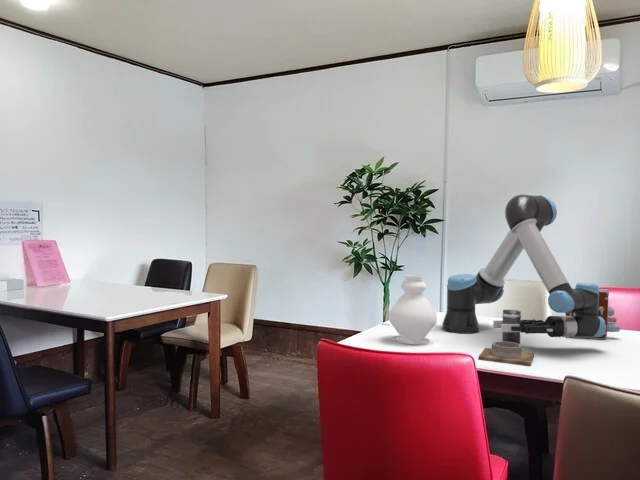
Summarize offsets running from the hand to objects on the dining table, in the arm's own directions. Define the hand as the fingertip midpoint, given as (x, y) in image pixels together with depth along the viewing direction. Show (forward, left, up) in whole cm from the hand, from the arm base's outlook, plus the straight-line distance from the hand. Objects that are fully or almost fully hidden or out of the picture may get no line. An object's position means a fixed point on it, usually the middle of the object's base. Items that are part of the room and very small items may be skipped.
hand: (497, 326), depth 182 cm
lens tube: (+4, +3, -9) cm, 10 cm away
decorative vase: (-31, -1, -9) cm, 32 cm away
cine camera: (+31, +43, -9) cm, 54 cm away
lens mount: (+4, -10, -9) cm, 14 cm away
